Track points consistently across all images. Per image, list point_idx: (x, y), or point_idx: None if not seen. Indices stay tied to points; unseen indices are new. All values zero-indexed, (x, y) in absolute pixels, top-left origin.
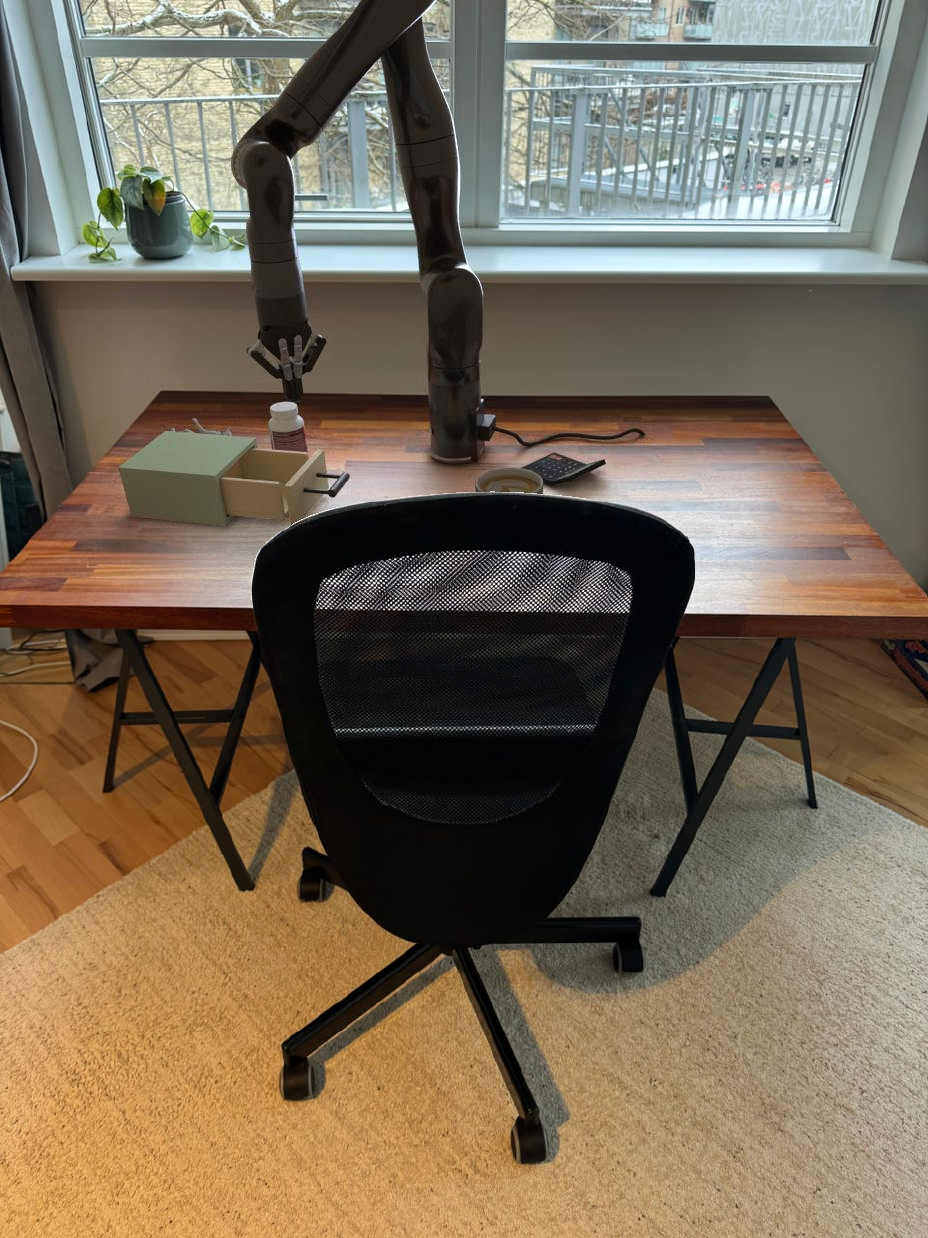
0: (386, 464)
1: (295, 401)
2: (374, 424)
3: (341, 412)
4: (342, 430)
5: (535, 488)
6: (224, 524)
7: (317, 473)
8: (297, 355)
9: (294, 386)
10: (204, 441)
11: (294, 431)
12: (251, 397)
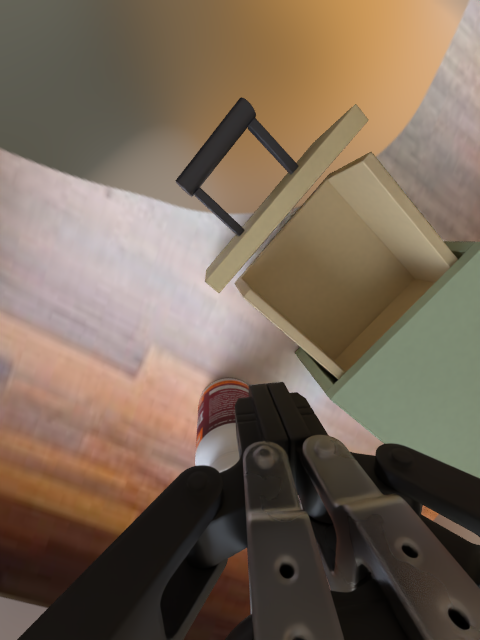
0: (66, 331)
1: (270, 383)
2: (42, 493)
3: (87, 553)
4: (106, 491)
5: None
6: None
7: (241, 230)
8: (300, 581)
9: (282, 415)
10: (423, 426)
11: (228, 422)
12: (206, 635)
